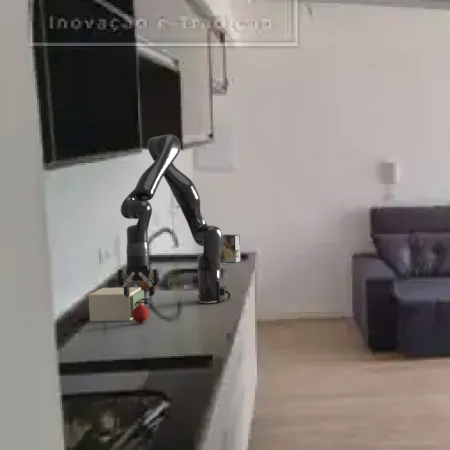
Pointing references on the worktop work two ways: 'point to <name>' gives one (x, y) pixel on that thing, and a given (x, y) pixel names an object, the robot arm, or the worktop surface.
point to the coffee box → (231, 248)
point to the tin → (144, 284)
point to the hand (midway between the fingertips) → (139, 296)
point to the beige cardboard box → (110, 304)
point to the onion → (140, 313)
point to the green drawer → (138, 300)
